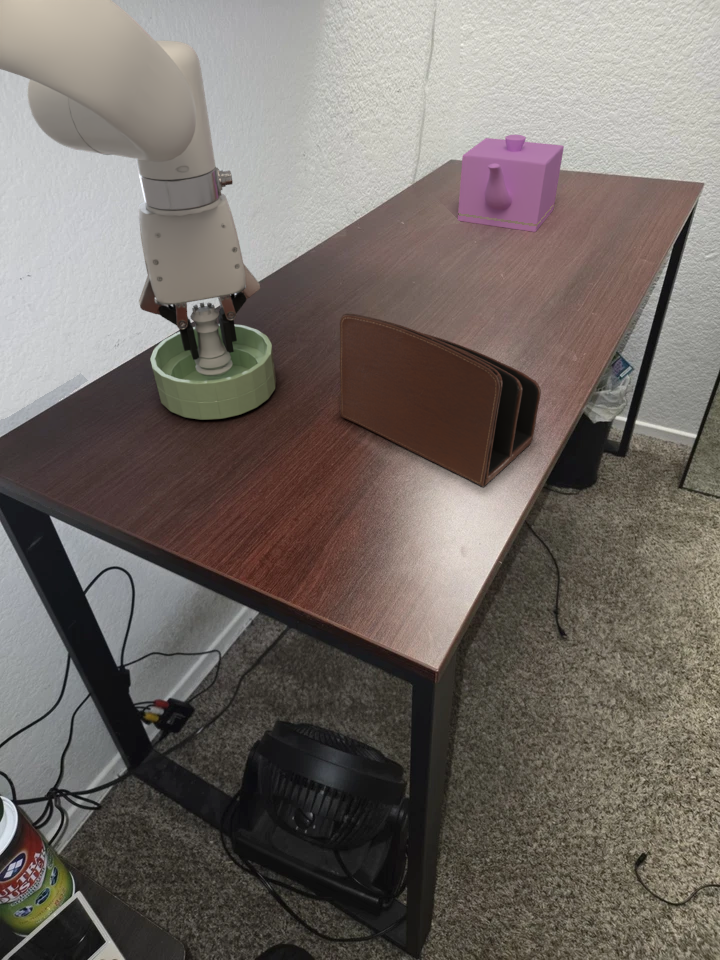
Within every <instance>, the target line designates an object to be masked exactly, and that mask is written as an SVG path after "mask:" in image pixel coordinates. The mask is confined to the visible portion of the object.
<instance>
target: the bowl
mask: <svg viewBox="0 0 720 960" xmlns="http://www.w3.org/2000/svg"><path fill="white" fill-rule="evenodd" d="M218 324H219V323H218ZM234 325H235V331H236V337H237V341H235V342H232V344H233V350H234V352H231V353H230V356H231V359H230V360H232V363H233V364H232V367H231V368H230V370H229V371H228V372H227V373H226V374H223V375H221V376H216V377H207V376H203V375H202V374H200V373H199V372H198V371H197V370H196V367H195V366H196V363H195V360H193V358H192V355H191V352H190V350H188V351H184V348H183V344H182V339H181V335H180V331H177V332H175V333H173V334H172V335H170V336H167V337H166V338H164V339H163V340H161V341H160V343H158V345H156V346H155V347H154V349H153V350H152V353H151V355H150V358H149V360H150V365H151V369H152V372H153V376H154V381H155V383H156V389H157V392H158V395H159V399H160V400H159V401H160V403H161V404H162V406H164V407H165V408H166V409H167V410H168V411H169V412H171V413H173V414H175V415H177V416H180V417H183V418H187V419H195V420H201V421H204V420H221V419H227V418H232V417H236V416H239V415H242V414H245V413H247V412H250V411H252V410H254V409H256V408H259V406H261V405H262V404H263V403H265V402H266V401H268V400H269V399H270V397H271V396H272V395H273V393H274V392H275V390H276V384H277V383H276V382H277V374H276V367H275V366H276V365H275V359H274V358H275V357H274V351H273V344H272V342H271V340H270V338H269V337H268V336H267V335H266V334H265V333H263V332H261V331H260V330H259V329H256V328H253V327H251V326H247V325H244V324H235V323H234ZM192 327H193V329H194V334H195V339H196V344H197V349H198V333H197V331H196V330H195V327H196V326H192ZM218 332H219V336H220V339H221V342H222V344H223V341H222V335H221V330H220V324H219V328H218ZM223 346H224V344H223Z"/></svg>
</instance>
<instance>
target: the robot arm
mask: <svg viewBox="0 0 720 960" xmlns="http://www.w3.org/2000/svg"><path fill="white" fill-rule="evenodd" d="M0 70H1V71H4V72H5V71H6V72H8V73H11V74H14V75H17V76H20V77H23V78H25V79H28V84H27V102H28V107H29V110H30V114H31V116H32V117H33V119H34V121H35V123H36V124H37V126H38V127H39V128H40V130H41V131H42V132H43V133H44V134H45V135H46V136H48V138H50V139H51V140H52V141H54V142H56V143H57V144H59V145H60V146H61V145H62V146H64V147H66V148H69V149H71V150H74V151H79V152H84V153H90V154H91V153H92V154H97V155H104V156H117V157H123V158H128V159H135V163H136V167H137V171H138V177H139V181H140V186H141V190H142V191H141V192H142V195H143V199H144V201H143V202H141V203H139V204H138V207H137V208H138V227H139V234H140V241H141V247H142V253H143V258H144V259H143V260H144V264H145V268H146V269H145V270H146V274H147V276H146V279H145V282H144V285H143V288H142V290H141V293H140V296H139V299H138V304H139V307H140V309H141V310H142V311H144V312H147V313H151V314H154V315H159V316H161V317H162V318H163V319H164V320H166V321H168V322H169V323H171V324H173V325H175V326H176V327H177V328H178V330H179V332H180V335H181V339H182V344H183V348H184V351H188V350H190V352H191V355H192V358H193V360H196V359H198V358H199V354H198V349H197V344H196V339H195V334H194V329H193V327H194V326H193V324H192V322H191V318H189V316H188V303H192V302H198V301H203V300H209V299H215V298H217V299H218V302H219V305H220V309H219V310H218V312H219V316H218V318H217V319H218V322H219V323H218V324H220V330H221V335H222V341H223V344H224V346H225V348H226V350H227V352H229V353H231V352H234V350H233V344H232V342H235V341H237V337H236V331H235V325H234V324H235V320H236V318H237V314H238V313H239V311H240V310H241V308H242V307H243V306H244V305H245V303H246V302H247V300H248V299H250V298H251V297H253V296H254V295H255V294H256V293H257V292H258V291H260V290H261V283H260V282H259V281H258V279H257V278H256V277H255V275H254V274H253V273H252V272H251V270H250V269H249V268H248V267H247V266H246V264H245V263H244V259H243V255H242V250H241V244H240V240H239V236H238V231H237V228H236V224H235V220H234V216H233V213H232V211H231V207H230V204H229V201H228V198H227V196H226V194H224V193H222V191H223V188H226V187H227V186H232V185H233V183H234V182H233V175H232V172H231V170H223V169H219V168H218V167H217V166H216V161H215V153H214V147H213V140H212V131H211V125H210V119H209V112H208V105H207V99H206V93H205V86H204V79H203V73H202V68H201V62H200V58H199V56H198V54H197V52H196V50H195V48H193V47H192V46H191V45H189V43H185V42H183V41H176V40H156V39H154V38H153V37H152V36H151V35H150V34H149V33H148V32H147V31H146V30H145V29H144V28H143V26H141V25H140V24H139V22H137V21H136V19H134V18H133V17H132V16H131V15H130V14H129V13H128V12H127V11H125V10H124V9H123V8H122V7H120V5H118V4H117V3H116V2H114V0H0Z"/></svg>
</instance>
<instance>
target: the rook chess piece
mask: <svg viewBox="0 0 720 960" xmlns="http://www.w3.org/2000/svg"><path fill="white" fill-rule="evenodd" d="M191 310H192V312H191V314H190V320H192V321H193V322H194V323H195V326H194V327H195V330H196V331H197V333H198V354H199V358H198V359H196V360H195V363H196V366H195V367H196V370H197V371H198V372H199V373H200V374H202V375H203V376H207V377H216V376H221V375H223V374H226V373H227V372H228V371H229V370H230V368H231V367H232V364H233V363H232V360H230V359H231V356H230V353H229V352H227V350H226V348H225V346H223V344H222V342H221V339H220V336H219V332H218V328H219V323H218V322H217V320H218V319H219V318H218V316H219V310H218V309H216V307H215V305H214V304H213V303H212V302H207V303H206V305H205V302H199V306H198V304H194V305H193V306H192V307H191Z"/></svg>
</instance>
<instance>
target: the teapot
mask: <svg viewBox="0 0 720 960" xmlns="http://www.w3.org/2000/svg"><path fill="white" fill-rule="evenodd" d="M526 139H527V137H526V136H524V135H522V134H508V135H506V136H505V137H504V139H501V138H493V137H492V138H491V137H485V138H484V139H483V140H481V141H480V142H478V143H476V144H475V145H474V146H473V147H472V148H470V149H469V150H468V151H467V152H465V153H463V155H462V156H461V157H462V158H461V171H460V173H461V174H460V185H459V198H458V209H457V211H458V212H457V221H458V222H465V223H472V224H477V225H483V226H484V225H485V226H492V227H498V228H505V229H512V230H518V231H526V232H532V233H536V232H537V231H538V230H539V229H540V227H541V226H542V225H543V224H544V223H545V221H546V220H547V219H548V218H549V217H550V215H551V214H552V213H553V212H554V208H555V201H556V198H557V197H556V196H557V190H558V184H559V179H560V172H561V166H562V160H563V155H564V149H565V148H564V145H562V144H553V143H551V144H550V143H542V142H531V141H526ZM553 204H554V206H553V207H552V208H551V210H550V211H549V212H548V213H547V214H546V216H545V217H544V218H543V219H542V220H541V218H542V217H543V216H544V215H545V213H546V212H547V211H548V210H549V209H550V207H551V206H552V205H553ZM458 213H461V214H469V215H476V216H482V217H489V218H497V219H504V220H511V221H518V222H524V223H533V224H537V223H538V222H539V221H540V220H541V222H540V223H539V224H538V225H537V227H536V226H529V225H522V224H515V223H508V222H501V221H494V220H487V219H480V218H473V217H466V216H459V215H458Z"/></svg>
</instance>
